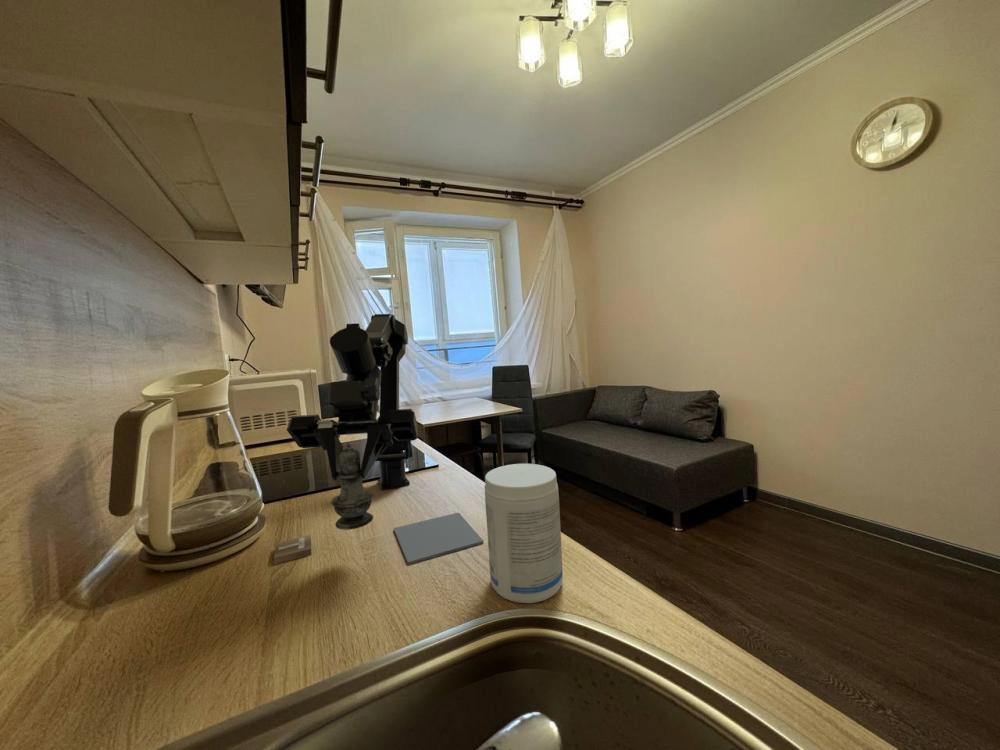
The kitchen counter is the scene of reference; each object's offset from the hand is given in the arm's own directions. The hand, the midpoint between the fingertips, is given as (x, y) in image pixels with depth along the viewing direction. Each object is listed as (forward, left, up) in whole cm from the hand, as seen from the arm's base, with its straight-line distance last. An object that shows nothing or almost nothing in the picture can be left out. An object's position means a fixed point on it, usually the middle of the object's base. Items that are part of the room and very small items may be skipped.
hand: (348, 478), depth 54 cm
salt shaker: (-1, 0, -7) cm, 7 cm away
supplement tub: (+16, +20, -13) cm, 29 cm away
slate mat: (-2, +13, -13) cm, 19 cm away
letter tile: (-9, -9, -14) cm, 19 cm away
